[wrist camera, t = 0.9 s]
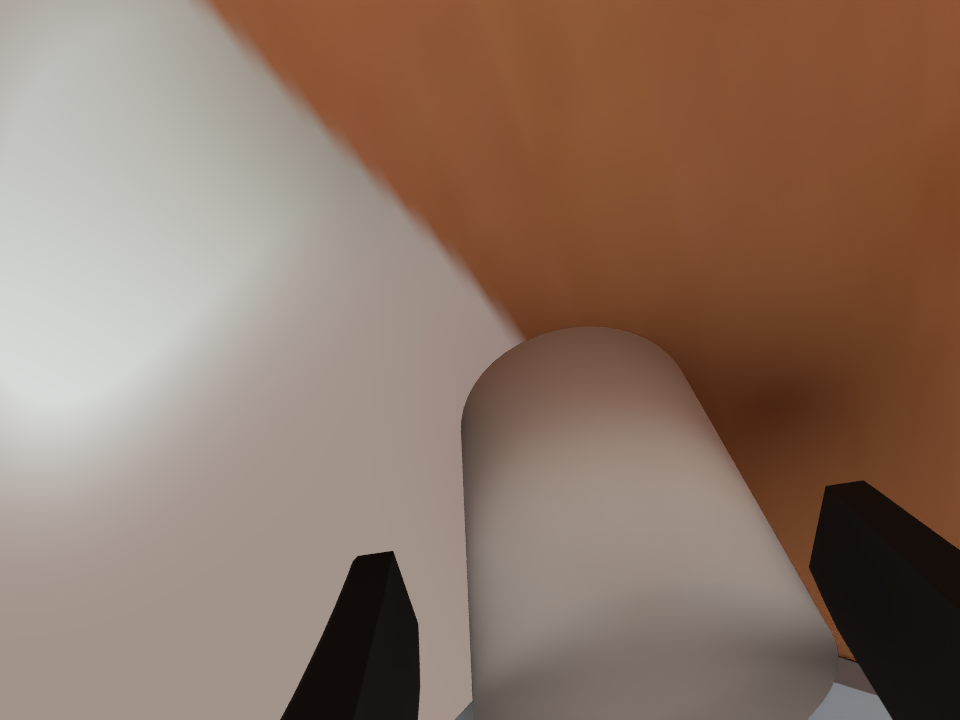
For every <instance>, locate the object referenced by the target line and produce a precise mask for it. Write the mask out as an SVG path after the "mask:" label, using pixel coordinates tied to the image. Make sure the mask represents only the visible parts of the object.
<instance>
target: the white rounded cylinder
mask: <svg viewBox="0 0 960 720" xmlns="http://www.w3.org/2000/svg"><path fill="white" fill-rule="evenodd" d="M461 438H462V439H461V440H462V460H463V461H462V462H463V487H464V507H465V508H464V509H465V533H466V556H467V579H468V602H469V626H470V648H471V672H472V696H473V714H474V719H475V720H806V719H808V718H809V717H810V716H811V715H812V714H813V713H814V712H815V711H816V709H817V708H818V707H819V706H820V705H821V703H822V702H823V701H824V699H825V698H826V696H827V694H828V693H829V691H830V690H831V688H832V686H833V683H834V680H835V678H836V675H837V669H838V663H839V658H838V648H837V645H836V642H835V640H834V637H833V635H832V633H831V631H830V629H829V628H828V626H827V624H826V622H825V621H824V619H823V617H822V615H821V614H820V612H819V610H818V608H817V607H816V605H815V603H814V601H813V600H812V598H811V596H810V594H809V593H808V591H807V589H806V587H805V586H804V584H803V582H802V580H801V579H800V577H799V575H798V573H797V572H796V570H795V568H794V566H793V565H792V563H791V561H790V559H789V558H788V556H787V554H786V552H785V551H784V549H783V547H782V545H781V544H780V542H779V540H778V538H777V537H776V535H775V533H774V531H773V530H772V528H771V526H770V524H769V523H768V521H767V519H766V517H765V516H764V514H763V512H762V510H761V509H760V507H759V505H758V503H757V502H756V500H755V498H754V496H753V495H752V493H751V491H750V490H749V488H748V486H747V484H746V483H745V481H744V479H743V477H742V476H741V474H740V472H739V470H738V469H737V467H736V465H735V463H734V462H733V460H732V458H731V456H730V455H729V453H728V451H727V449H726V448H725V446H724V444H723V442H722V441H721V439H720V437H719V435H718V434H717V432H716V430H715V428H714V427H713V425H712V423H711V421H710V420H709V418H708V416H707V414H706V413H705V411H704V409H703V407H702V406H701V404H700V402H699V400H698V399H697V397H696V395H695V393H694V392H693V390H692V388H691V386H690V385H689V383H688V381H687V379H686V378H685V376H684V374H683V373H682V371H681V369H680V368H679V366H678V365H677V363H676V362H675V361H674V360H673V359H672V358H671V357H670V356H669V354H668V353H666V352H665V351H664V350H663V349H661V348H660V347H659V346H658V345H656V344H654V343H653V342H651V341H649V340H647V339H646V338H644V337H641V336H639V335H636V334H634V333H631V332H628V331H624V330H620V329H616V328H608V327H600V326H581V327H572V328H564V329H560V330H555V331H551V332H548V333H545V334H542V335H539V336H536V337H533V338H531V339H529V340H527V341H525V342H523V343H520V344H518V345H517V346H515V347H514V348H512V349H510V350H509V351H507V352H506V353H504V354H503V355H502V356H501V357H499V358H498V359H497V360H496V361H494V362H493V363H492V364H491V365H490V366H489V367H488V368H487V369H486V370H485V371H484V372H483V374H482V375H481V376H480V378H479V379H478V380H477V382H476V383H475V385H474V386H473V388H472V390H471V392H470V394H469V396H468V398H467V401H466V404H465V406H464V410H463V415H462V421H461Z"/></svg>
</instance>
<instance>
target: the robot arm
mask: <svg viewBox="0 0 960 720" xmlns="http://www.w3.org/2000/svg"><path fill="white" fill-rule="evenodd" d="M809 568H810V571H811V573H812V575H813V577H814V580H815V582H816V584H817V586H818V589H819V591H820V593H821V595H822V598H823V600H824V602H825V604H826V606H827V608H828V610H829V613H830V615H831V617H832V619H833V621H834V623H835V625H836V627H837V629H838V631H839V632H840V634H841V636H842V637H843V639H844V641H845V643H846V644H847V646H848V647H849V649H850V651H851V652H852V654H853V656H854V657H855V659H856V661H857V662H858V664H859V666H860V667H861V669H862V671H863V672H864V674H865V676H866V677H867V679H868V681H869V682H870V684H871V685H872V687H873V689H874V690H875V692H876V694H877V695H878V697H879V699H880V700H881V702H882V703H883V705H884V707H885V708H886V710H887V712H888V713H889V715H890V716H891V718H892V720H960V550H959V549H958V548H956V547H955V546H953V545H952V544H951V543H949V542H948V541H946V540H945V539H944V538H942V537H941V536H939V535H938V534H937V533H935V532H934V531H933V530H931V529H930V528H928V527H927V526H926V525H924V524H923V523H922V522H920V521H919V520H917V519H916V518H915V517H913V516H912V515H911V514H909V513H908V512H906V511H905V510H904V509H902V508H901V507H900V506H898V505H897V504H896V503H894V502H893V501H891V500H890V499H889V498H887V497H886V496H885V495H883V494H882V493H880V492H879V491H878V490H876V489H875V488H873V487H872V486H871V485H869V484H868V483H866V482H865V481H864V480H863V481H856V482H850V483H843V484H836V485H829V486H826V487H825V492H824V497H823V502H822V506H821V511H820V516H819V521H818V526H817V531H816V536H815V540H814V545H813V550H812V555H811V560H810V565H809ZM419 666H420V663H419V632H418V622H417V619H416V616H415V613H414V610H413V607H412V604H411V602H410V599H409V596H408V593H407V590H406V587H405V584H404V582H403V578H402V575H401V572H400V570H399V567H398V564H397V561H396V558H395V555H394V552H393V551H390V552H382V553H375V554H369V555H362V556H357V557H356V559H355V560H354V561H353V563H352V565H351V568H350V571H349V573H348V575H347V578H346V581H345V583H344V585H343V588H342V590H341V593H340V595H339V598H338V601H337V603H336V605H335V608H334V610H333V612H332V614H331V617H330V619H329V621H328V624H327V626H326V628H325V630H324V632H323V635H322V637H321V639H320V641H319V643H318V645H317V647H316V650H315V652H314V654H313V656H312V658H311V660H310V662H309V664H308V666H307V668H306V671H305V672H304V675H303V677H302V679H301V681H300V683H299V685H298V687H297V689H296V691H295V693H294V695H293V697H292V699H291V701H290V702H289V704H288V706H287V708H286V710H285V712H284V714H283V716H282V718H281V719H280V720H418V710H419V695H420V694H419V693H420V667H419Z"/></svg>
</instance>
